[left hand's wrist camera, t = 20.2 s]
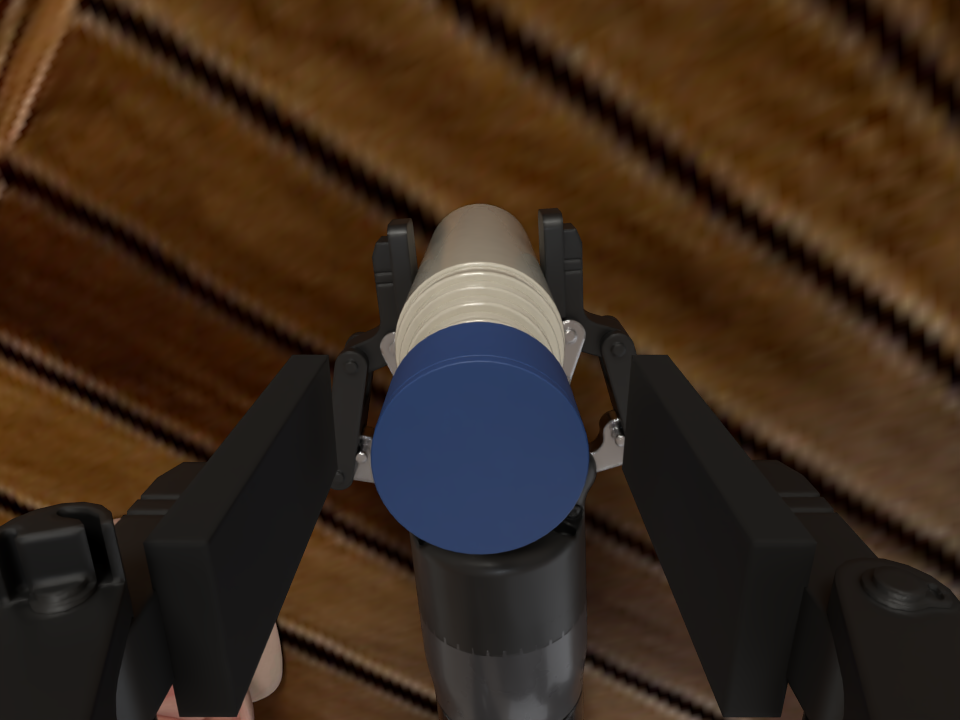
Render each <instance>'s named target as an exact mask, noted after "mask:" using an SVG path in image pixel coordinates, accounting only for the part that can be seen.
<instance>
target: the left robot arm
mask: <svg viewBox="0 0 960 720" xmlns="http://www.w3.org/2000/svg"><path fill="white" fill-rule="evenodd" d="M337 470H338V463H337V451H336V439H335V427H334V415H333V403H332V392H331V380H330V368H329V356H328V355H292V356H291V358H290V359H289V360H288V361H287V363H286V364H285V365H284V366H283V368H282V369H281V370H280V371H279V373H278V374H277V375H276V376H275V378H274V379H273V380H272V381H271V383H270V384H269V385H268V386H267V388H266V389H265V390H264V391H263V393H262V394H261V395H260V396H259V398H258V399H257V400H256V401H255V403H254V404H253V405H252V406H251V408H250V409H249V410H248V411H247V413H246V414H245V415H244V416H243V418H242V419H241V420H240V421H239V423H238V424H237V425H236V427H235V428H234V429H233V430H232V432H231V433H230V434H229V435H228V437H227V438H226V439H225V440H224V442H223V443H222V444H221V445H220V447H219V448H218V449H217V450H216V452H215V453H214V454H213V455H212V457H211V458H210V459H209V460H208V462H183V463H181V464H180V465H178V466H176V467H175V468H173V469H171V470H169V471H168V472H166V473H164V474H163V475H161V476H159V477H158V478H157V479H156V480H155V481H154V482H153V483H152V484H151V485H150V486H149V487H148V489H147V490H146V491H145V492H144V493H143V494H142V495H141V500H137V501H136V502H135V503H134V504H133V505H132V506H131V507H130V509H129V510H128V511H127V515H123V516H122V517H121V519H120V520H119V521H118V522H117V523H116V524H115V525H114V522H113V517H112V513H111V512H110V511H109V510H108V509H106V508H105V507H104V506H102V505H99V504H93V503H87V502H76V503H62V504H57V505H53V506H49V507H45V508H40V509H37V510H34V511H31V512H29V513H26V514H24V515H21V516H19V517H16V518H14V519H12V520H10V521H9V522H7V523H5V524H4V525H2V526H0V720H158V718H157V712H158V710H159V708H160V706H161V705H162V703H163V701H164V699H165V697H166V695H167V694H168V692H169V690H170V688H171V686H172V684H173V689H174V694H175V699H176V704H177V708H178V713H179V717H237V716H238V713H239V711H240V708H241V706H242V703H243V701H244V698H245V696H246V693H247V691H248V689H249V686H250V684H251V681H252V679H253V676H254V674H255V671H256V669H257V666H258V664H259V661H260V659H261V657H262V654H263V652H264V649H265V647H266V644H267V642H268V639H269V637H270V634H271V632H272V630H273V627H274V625H275V622H276V620H277V617H278V615H279V612H280V610H281V607H282V605H283V603H284V600H285V598H286V595H287V593H288V590H289V588H290V585H291V583H292V580H293V578H294V576H295V573H296V571H297V568H298V566H299V563H300V561H301V558H302V556H303V553H304V551H305V549H306V546H307V544H308V541H309V539H310V536H311V534H312V531H313V529H314V526H315V524H316V522H317V519H318V517H319V514H320V512H321V509H322V507H323V504H324V502H325V499H326V497H327V494H328V492H329V490H330V487H331V485H332V482H333V480H334V477H335V475H336V472H337ZM622 470H623V472H624V475H625V477H626V480H627V482H628V485H629V487H630V490H631V492H632V494H633V497H634V499H635V502H636V504H637V507H638V509H639V512H640V514H641V517H642V519H643V522H644V524H645V526H646V529H647V531H648V534H649V536H650V539H651V541H652V544H653V546H654V549H655V551H656V553H657V556H658V558H659V561H660V563H661V566H662V568H663V571H664V573H665V576H666V578H667V580H668V583H669V585H670V588H671V590H672V593H673V595H674V598H675V600H676V603H677V605H678V607H679V610H680V612H681V615H682V617H683V620H684V622H685V625H686V627H687V630H688V632H689V634H690V637H691V639H692V642H693V644H694V647H695V649H696V652H697V654H698V657H699V659H700V661H701V664H702V666H703V669H704V671H705V674H706V676H707V679H708V681H709V684H710V686H711V689H712V691H713V693H714V696H715V698H716V701H717V703H718V706H719V708H720V711H721V713H722V716H723V717H781V713H782V708H783V704H784V699H785V694H786V689H787V684H788V683H789V685H790V687H791V688H792V690H793V692H794V694H795V696H796V697H797V699H798V701H799V703H800V705H801V707H802V708H803V710H804V714H803V718H802V720H960V601H959V600H958V599H957V598H956V596H955V595H954V594H953V593H952V591H951V590H950V589H949V588H947V587H946V586H944V585H943V584H942V583H940V582H939V581H937V580H936V579H935V578H933V577H932V576H930V575H928V574H926V573H924V572H922V571H919V570H917V569H915V568H913V567H911V566H909V565H905V564H902V563H898V562H894V561H891V560H887V559H881V558H878V557H877V556H876V555H875V554H874V553H873V552H872V551H871V550H870V549H869V547H868V546H867V545H866V544H865V543H864V542H863V541H862V540H861V539H860V538H859V536H858V535H857V534H856V533H855V532H854V531H853V530H852V529H851V528H850V527H849V525H848V524H847V523H846V522H845V521H844V520H843V519H842V518H841V517H840V516H839V514H838V513H834V512H833V508H832V507H831V506H830V505H829V503H828V502H827V501H826V500H825V499H824V498H823V497H820V495H819V492H818V491H817V490H816V489H815V488H814V487H813V486H812V485H811V484H810V483H809V481H808V480H807V479H806V478H805V477H804V476H803V475H801V474H800V473H798V472H796V471H795V470H793V469H791V468H790V467H788V466H786V465H785V464H783V463H781V462H779V461H778V460H751V459H750V458H749V457H748V455H747V454H746V453H745V452H744V450H743V449H742V448H741V447H740V445H739V444H738V443H737V442H736V440H735V439H734V438H733V437H732V435H731V434H730V433H729V432H728V430H727V429H726V428H725V427H724V425H723V424H722V423H721V421H720V420H719V419H718V418H717V416H716V415H715V414H714V413H713V411H712V410H711V409H710V408H709V406H708V405H707V404H706V403H705V401H704V400H703V399H702V398H701V396H700V395H699V394H698V393H697V391H696V390H695V389H694V388H693V386H692V385H691V384H690V383H689V381H688V380H687V379H686V378H685V376H684V375H683V374H682V373H681V371H680V370H679V369H678V368H677V366H676V365H675V364H674V363H673V361H672V360H671V359H670V358H669V356H668V355H632V356H631V368H630V380H629V392H628V403H627V415H626V427H625V439H624V451H623V463H622Z"/></svg>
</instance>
